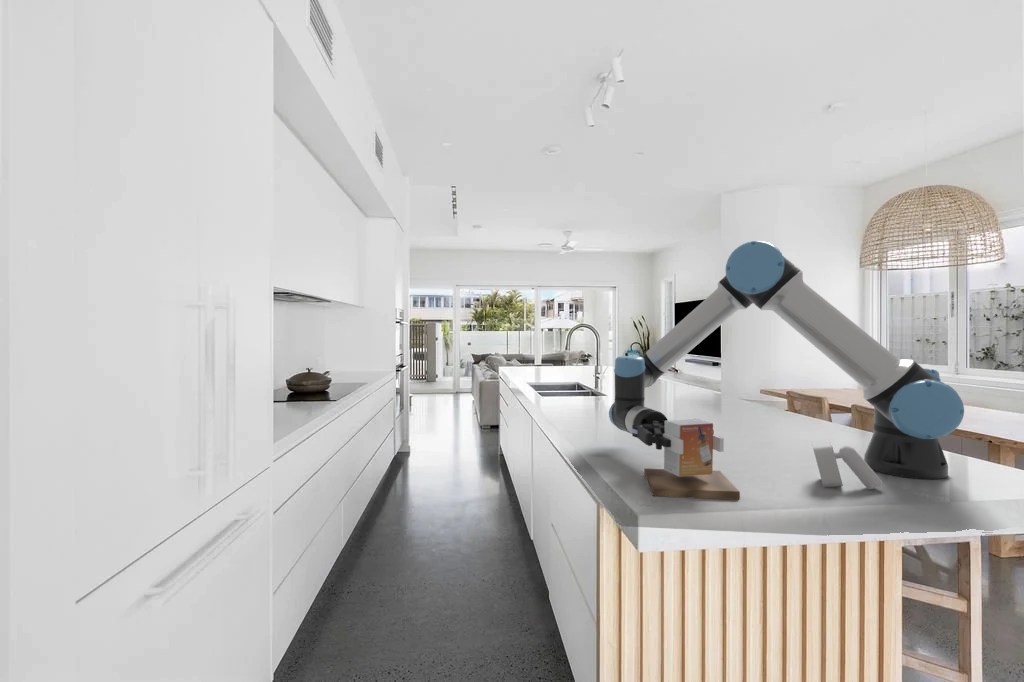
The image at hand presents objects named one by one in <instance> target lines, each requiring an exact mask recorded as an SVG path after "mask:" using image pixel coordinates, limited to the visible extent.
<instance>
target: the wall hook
mask: <svg viewBox="0 0 1024 682" xmlns="http://www.w3.org/2000/svg"><path fill="white" fill-rule="evenodd" d="M811 446H812V449H813V453H814V457H815V460H816V461H815V462H816V463H817V464H816V465H817V468H818V472H819V475H820V479H821V483H822V487H823V488H831V487H832V488H835V487H843V486H844V485H843V480H842V478H841V474H840V470H839V466H838V461H837V459H838V460H839V459H842V460H843V462H844V463H845V464H846V465H847V466H848V467H849V469H850V470H851V471H852V473H854V475H855V476H856V478H858V479H859V481H860V482H861V483H862V484H863V485H864V486H865V488H866V489H867V490H868V489H869V490H874V489H876V488H878V487H880V486H881V485H882V483H883V481H882V480H881V478H880V477H879V476H878V475H877V473H876V471H875V470H872V469H871V468H870V467H869V465H868V464H867V463H866V462H865V461H864V458H863V457H862V456H861V455H860V454H859V453H858V451H857V450H856V449H855V447H852V446H850V445H844V446H841V447H840V448H839V450H838V451H836V452H834V448H833V444H832V442H831V439H829V440H828V439H827V440H822V441H821V440H820V441H813V442H811Z"/></svg>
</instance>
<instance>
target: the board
mask: <svg viewBox="0 0 1024 682" xmlns="http://www.w3.org/2000/svg"><path fill="white" fill-rule="evenodd" d="M643 471H644V472H643V474H644V475H645V476H644V475H643V476H644V478H645V480H646V483H647V485H648V488H649V487H650V488H649V490H650V492H651V495H652V496H653V497H662V496H667V497H666V498H670V497H671V498H688V497H696V498H695V499H719V500H722V499H723V500H740V499H741V498H740V494H741V493H740V492H741V491H740V490H739V489H738V488H737V487H736V486H735V485H734V484H733V483H732V482H731V481H730V480H729V479H728V478H727V477H726V476H725V474H724V473H722V471H721V470H712V474H711V475H691V476H681V477H679V476H676V475H674V474H672V473H670V472H668V471H666V470H664V468H645V467H644V469H643ZM668 496H669V497H668Z"/></svg>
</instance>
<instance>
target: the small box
mask: <svg viewBox="0 0 1024 682" xmlns="http://www.w3.org/2000/svg"><path fill="white" fill-rule="evenodd" d="M713 430H714V424H713V422H709V421H706V420H702V419H701V418H692V419H678V420H668V421H665V434H669V435H671V436H674V437H676V438H679V439H681V440H683V454H678V453H676V452H673V451H671V450H669V449H667V448H665V447H663V448H664V453H663V454H664V455H663V457H664V458H663V469H664V470H666V471H668V472H670V473H672V474H674V475H676V476H679V477H681V476H691V475H711V474H712V471H713V465H714V464H713V462H714V461H713V453H714V452H713V451H714V449H713Z"/></svg>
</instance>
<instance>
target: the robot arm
mask: <svg viewBox="0 0 1024 682" xmlns="http://www.w3.org/2000/svg"><path fill="white" fill-rule="evenodd" d="M803 277H804V276H803V271H802V270H801V269H800V268H799V267H797V266H796V265H795V264H794V263H793V262H792V261H790V260H789V259H788V258H786V257H785V256H784V255H783V254H782V252H781V251H780V249H779V248H778V247H777V246H775V245H774V244H772V243H771V242H767V241H762V240H752V241H748V242H745V243H743V244H741V245H739V246H738V247H736V248H735V249H734V250H733V251H732V252H731V254H730V255H729V256H728V259H727V261H726V264H725V276H723V278H722V279H721V280H719V281H718V282H717V289H715V290H714V291H713V292H712V293H711V294H709V296H707V297H706V298H705V299H704V300H703V301H702V302H701V303H700V304H698V305H697V306H696V307H695V308H694V309H692V311H690V312H689V313H688V314H687V315H686V316H684V318H683V319H681V320H680V321H679V322H677V324H676V325H675V326H674V327H673V328H671V329H670V330H669V331H668V332H667V333H665V335H663V336H662V337H661V338H660V339H659V340H658V341H657V342H656V343H654V344H653V345H652V346H651V347H649V349H648V350H647V351H645V352H644V353H643V354H642V355H641V356H637V355H623V356H622V355H621V356H620V355H619V356H617V357H616V358H615V360H614V369H613V372H614V402H613V403H612V404H611V406H610V407H609V410H608V418H609V421H610V422H611V424H612V425H614V426H615V427H616V428H617V429H619V430H621V431H623V432H626V433H629V434H631V435H632V437H634V438H636V439H638V440H639V441H640V442H641V443H644V445H646V446H648V447H652V446H653V444H655V450H658V451H659V450H661V451H662V449H663V448H664V447H665V448H667V449H669V450H671V451H673V452H676V453H678V454H683V440H681V439H679V438H676V437H674V436H671V435H669V434H665V421H669V420H668V418H667V416H666V414H664V413H662V412H660V411H658V410H655V409H652V408H648V407H646V406H645V398H646V397H645V391H646V389H645V388H649V387H651V386H653V385H654V384H655V383H656V382H657V381H658V379H659V378H660V377H661V376H662V375H664V374H665V373H666V372H667V371H668V370H669V369H671V368H672V367H673V366H674V365H675V364H676V363H678V362H679V361H680V360H681V359H682V358H683V357H685V356H686V355H687V354H689V352H691V351H692V350H693V349H695V347H696V346H697V345H699V344H700V343H701V342H702V341H703V340H705V339H706V338H707V337H708V336H710V335H711V334H712V333H713V332H714V331H715V330H717V329H718V328H719V327H721V325H722V324H724V323H725V322H726V321H727V320H728V319H730V318H731V317H732V316H733V315H734V314H735V313H736V312H738V311H739V310H740V311H741V310H747V309H748V308H749V307H750V306H752V304H754V305H755V306H756V307H757V308H758V309H759V310H761V311H773V313H775V314H777V316H779V317H780V318H781V319H782V320H784V322H786V323H787V324H788V325H789V326H790V327H792V328H793V329H794V330H795V331H796V332H797V333H799V334H800V335H801V336H802V337H803V338H805V339H806V341H808V342H809V343H810V344H811V345H813V347H815V348H816V349H817V350H819V351H820V352H821V353H822V354H823V355H825V357H827V358H828V359H830V361H831V362H832V363H834V364H835V365H836V366H837V367H838V368H840V369H841V370H842V371H843V372H844V373H845V374H847V375H848V376H849V377H851V379H853V381H855V382H857V384H859V386H861V387H862V389H863V399H864V400H865V401H867V402H868V404H870V405H871V406H873V434H872V435H871V437H870V438H871V439H870V440H869V441H870V442H869V444H868V445H867V448H866V450H865V453H864V455H863V457H864V458H863V459H864V461H865V462H866V463H867V464H868V465H869V467H870V468H871V469H872V470H873V471H874V472H879V473H883V474H887V475H893V476H897V477H902V478H903V477H904V478H912V479H921V480H922V479H923V480H938V479H944V478H947V477H948V476H949V464H948V462H947V459H946V456H945V454H944V451H943V448H942V446H941V443H940V441H939V439H940V438H943V437H946V436H948V435H950V434H951V433H953V432H954V431H955V430H957V428H959V426H960V424H961V423H962V421H963V419H964V415H965V406H964V403H963V400H962V398H961V396H960V395H959V393H958V392H957V391H956V390H955V389H954V388H953V387H952V386H951V385H949V384H946V383H945V382H942V381H941V378H940V373H939V371H938V370H937V369H934V368H933V369H932V368H923V367H922V366H921V365H920V364H918V363H917V362H916V361H915V360H913V359H900V358H898V357H897V356H896V355H894V354H893V353H892V352H890V351H889V350H888V349H887V348H886V347H884V346H883V345H882V344H881V343H880V342H878V341H877V340H876V339H875V338H873V337H872V336H871V335H869V334H868V333H867V332H866V331H865V330H863V329H862V328H861V327H860V326H859V325H857V324H856V323H855V322H854V321H852V320H851V319H850V318H848V317H847V316H846V315H845V314H843V313H842V312H841V311H840V310H839V309H838V308H837V307H835V306H834V305H833V304H831V303H830V302H828V300H826V299H825V298H824V297H823V296H821V295H820V294H819V293H818V292H816V291H815V290H814V289H813V288H812V287H810V286H809V284H806V283H805V281H804V278H803ZM714 432H715V431H714V429H713V451H714V450H715V451H716V452H720V453H721V452H724V448H725V447H724V445H725V444H724V443H725V441H724V437H722V436H719V435H716V434H715V433H714Z"/></svg>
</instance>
